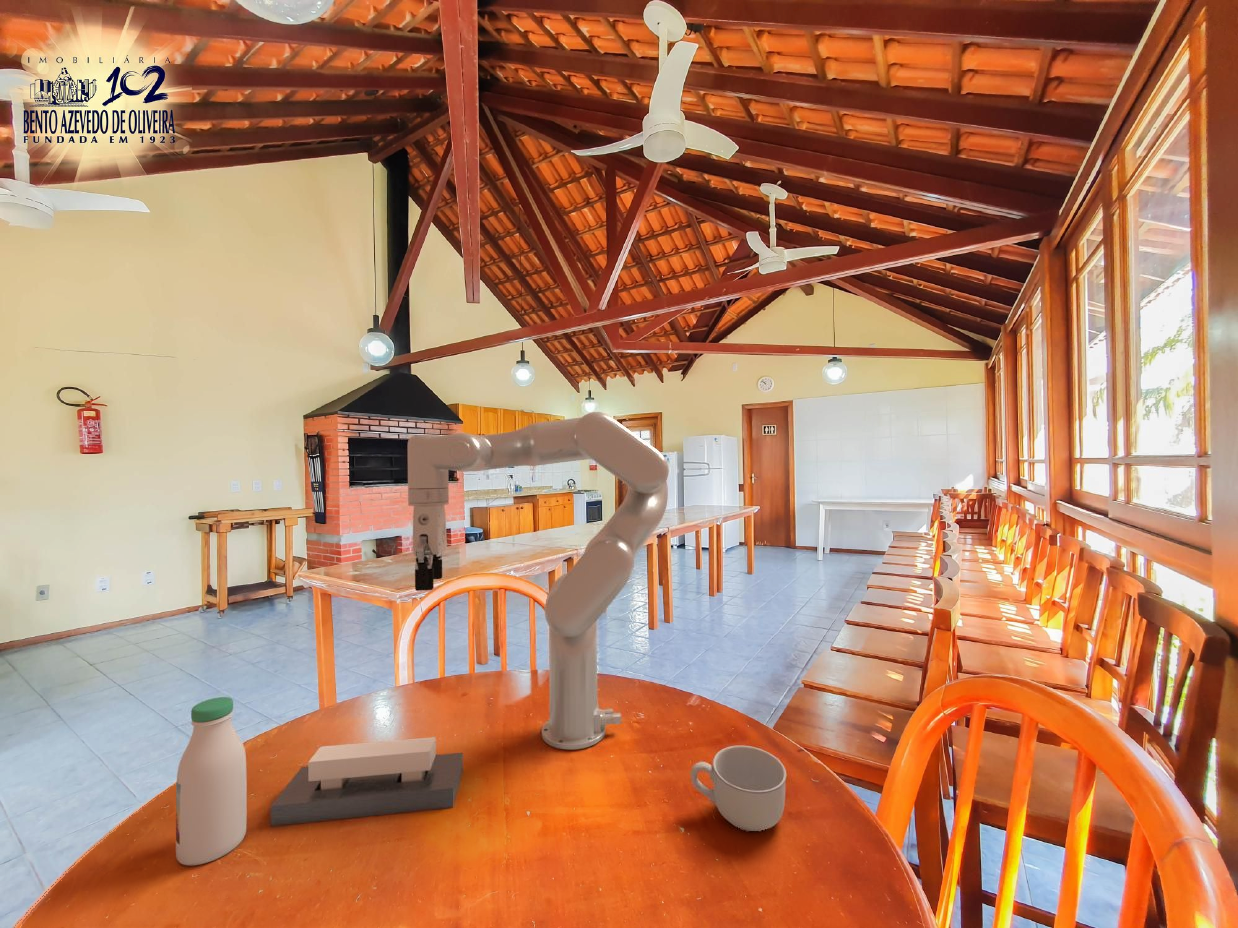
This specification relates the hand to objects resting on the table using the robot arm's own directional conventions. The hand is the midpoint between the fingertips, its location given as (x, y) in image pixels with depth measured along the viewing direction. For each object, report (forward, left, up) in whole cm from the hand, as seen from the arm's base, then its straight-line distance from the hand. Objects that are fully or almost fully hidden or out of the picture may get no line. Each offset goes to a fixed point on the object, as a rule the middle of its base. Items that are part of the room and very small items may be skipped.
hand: (429, 584), depth 100 cm
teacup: (-51, +31, -30) cm, 67 cm away
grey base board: (+5, +17, -30) cm, 35 cm away
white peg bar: (+5, +17, -30) cm, 35 cm away
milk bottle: (+24, +25, -30) cm, 46 cm away
